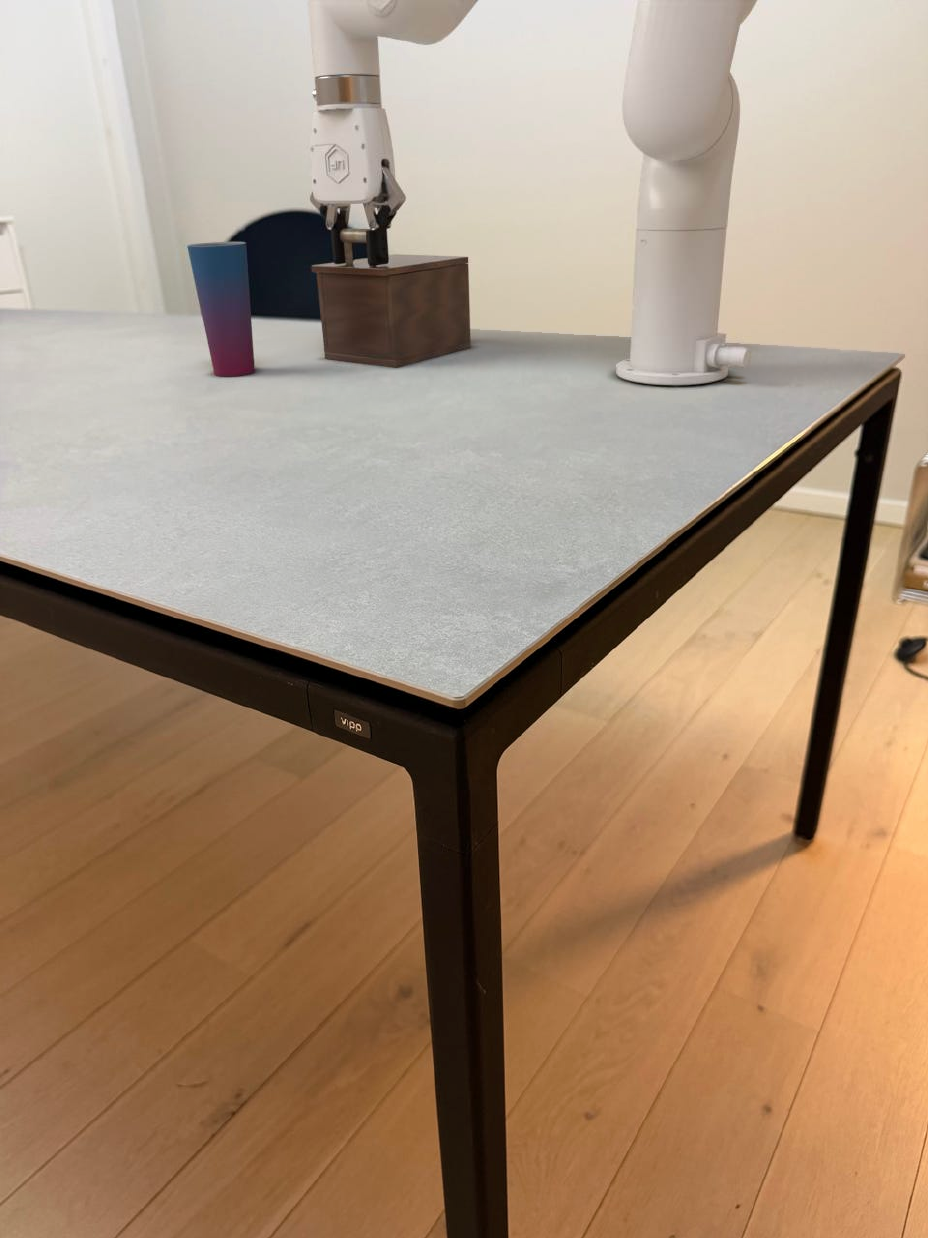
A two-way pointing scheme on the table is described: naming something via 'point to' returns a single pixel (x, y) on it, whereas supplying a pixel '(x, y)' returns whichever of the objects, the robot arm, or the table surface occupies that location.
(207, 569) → the table surface
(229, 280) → the cup
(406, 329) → the brown wooden box
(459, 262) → the lid
